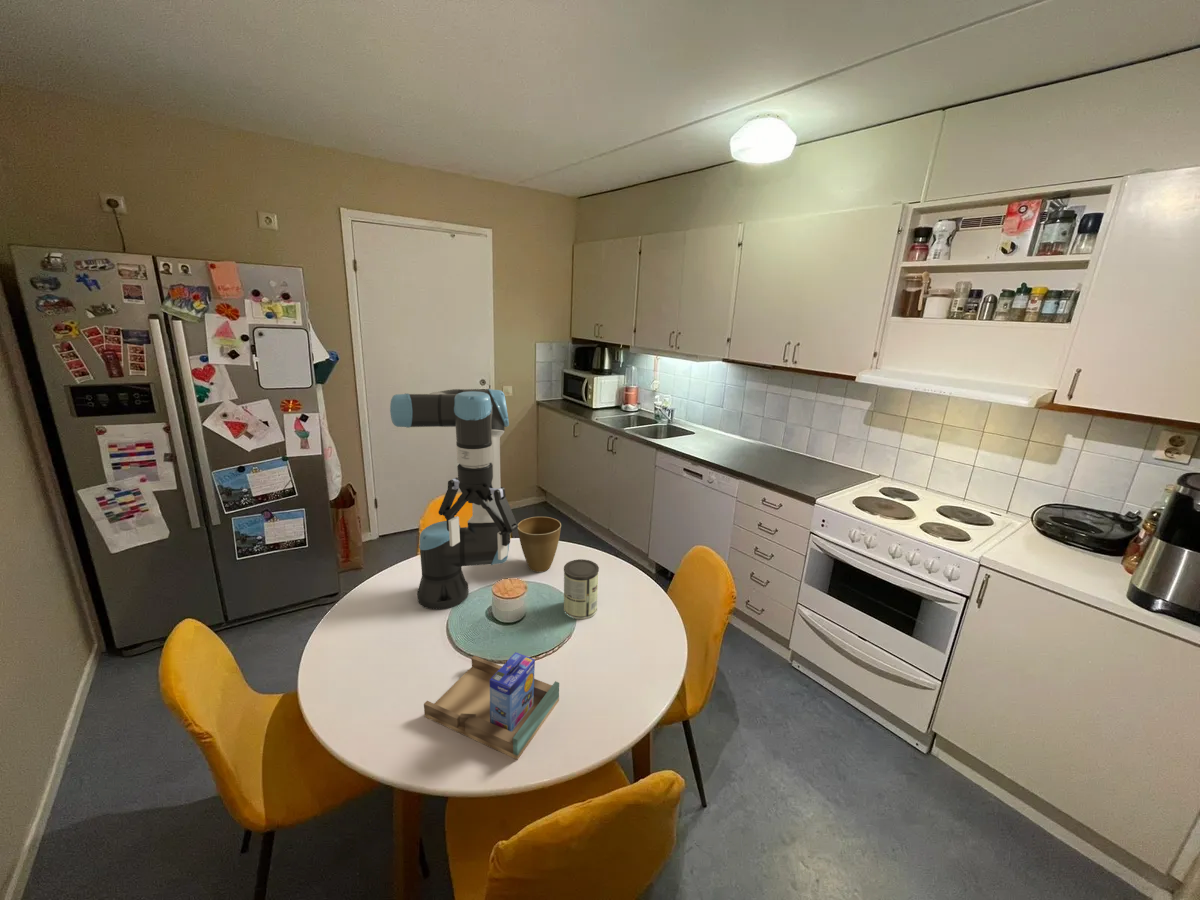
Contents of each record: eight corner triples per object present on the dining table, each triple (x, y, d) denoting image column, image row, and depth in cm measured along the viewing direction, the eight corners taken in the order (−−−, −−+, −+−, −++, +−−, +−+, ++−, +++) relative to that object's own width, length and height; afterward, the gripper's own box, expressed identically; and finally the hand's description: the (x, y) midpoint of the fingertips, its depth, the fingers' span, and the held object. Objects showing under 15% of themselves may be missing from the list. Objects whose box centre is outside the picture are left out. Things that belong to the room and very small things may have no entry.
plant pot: (564, 558, 175) (564, 517, 171) (555, 579, 161) (556, 536, 156) (524, 554, 177) (523, 514, 172) (512, 575, 162) (511, 532, 158)
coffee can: (566, 598, 151) (566, 557, 147) (598, 601, 150) (600, 560, 146) (560, 618, 141) (560, 575, 137) (595, 621, 140) (596, 578, 136)
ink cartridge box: (510, 736, 100) (509, 678, 96) (488, 727, 102) (486, 670, 98) (535, 703, 109) (535, 649, 105) (515, 695, 111) (514, 641, 107)
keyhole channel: (424, 716, 105) (423, 698, 104) (474, 667, 120) (473, 650, 119) (517, 759, 96) (517, 739, 95) (559, 700, 111) (559, 682, 110)
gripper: (418, 458, 107) (424, 545, 113) (513, 477, 97) (514, 570, 103) (442, 450, 114) (446, 532, 120) (533, 467, 104) (533, 555, 110)
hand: (478, 550), depth 112 cm, fingers open, 13 cm apart
